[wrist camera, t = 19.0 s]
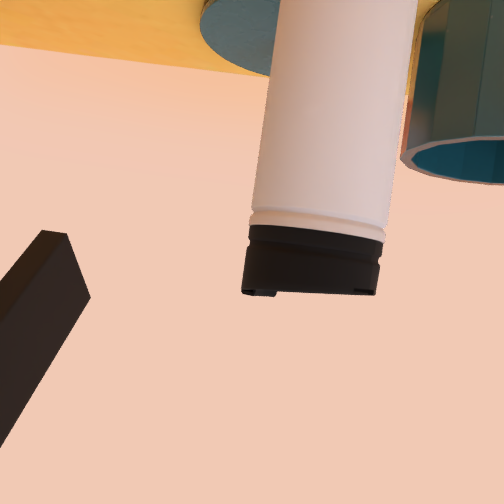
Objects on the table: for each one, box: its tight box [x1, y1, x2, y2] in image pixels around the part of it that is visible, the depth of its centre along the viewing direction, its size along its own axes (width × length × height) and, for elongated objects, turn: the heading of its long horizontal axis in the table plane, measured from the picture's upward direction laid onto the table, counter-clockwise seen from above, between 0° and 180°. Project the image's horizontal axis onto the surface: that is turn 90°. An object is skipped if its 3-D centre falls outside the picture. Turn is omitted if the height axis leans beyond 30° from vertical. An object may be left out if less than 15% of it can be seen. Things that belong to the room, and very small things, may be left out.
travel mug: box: [241, 0, 418, 297], centre depth 22 cm, size 6×7×20 cm
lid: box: [200, 0, 280, 76], centre depth 36 cm, size 15×15×9 cm
